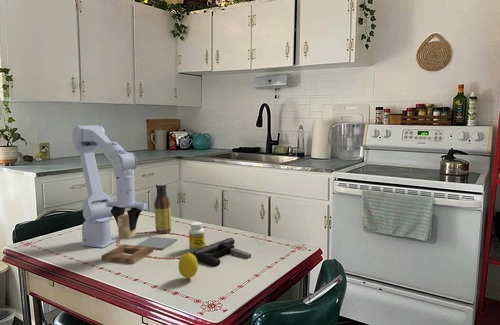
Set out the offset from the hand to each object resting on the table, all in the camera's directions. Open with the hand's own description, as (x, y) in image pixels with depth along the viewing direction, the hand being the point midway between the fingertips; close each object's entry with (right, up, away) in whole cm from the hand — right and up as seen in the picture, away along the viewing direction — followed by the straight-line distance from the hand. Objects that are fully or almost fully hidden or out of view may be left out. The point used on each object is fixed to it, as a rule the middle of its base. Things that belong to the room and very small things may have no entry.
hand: (127, 229), depth 134 cm
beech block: (0, -2, 0) cm, 2 cm away
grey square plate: (+7, -8, +14) cm, 17 cm away
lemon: (+23, -12, -18) cm, 32 cm away
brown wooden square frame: (0, -9, +1) cm, 9 cm away
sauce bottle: (+6, -6, +28) cm, 30 cm away
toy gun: (+33, -10, +1) cm, 34 cm away
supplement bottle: (+23, -9, +7) cm, 25 cm away
